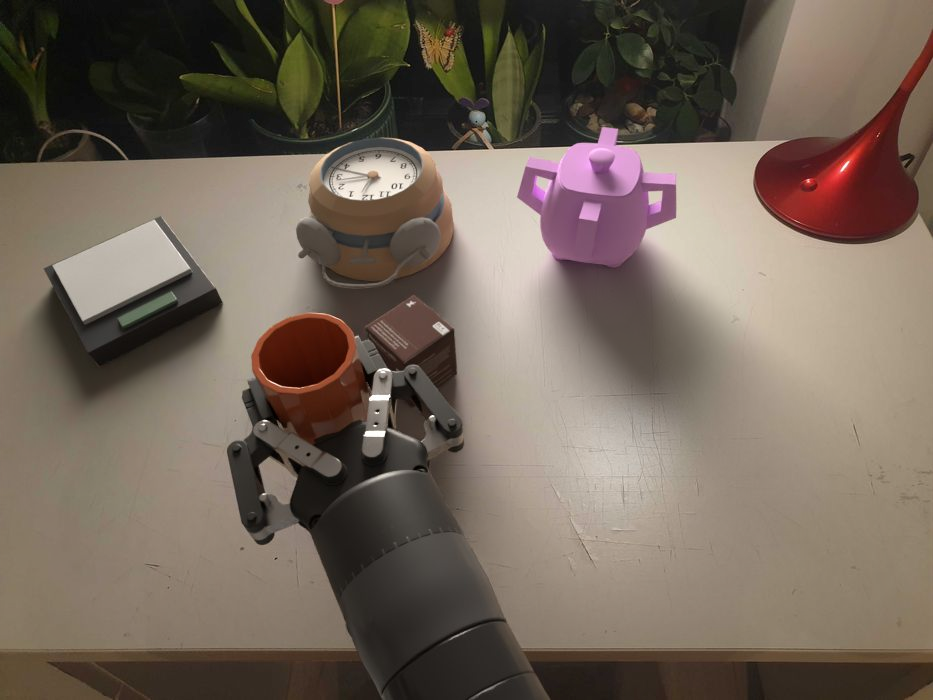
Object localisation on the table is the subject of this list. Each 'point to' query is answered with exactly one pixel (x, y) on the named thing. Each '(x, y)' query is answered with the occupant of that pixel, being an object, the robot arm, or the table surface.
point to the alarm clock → (376, 212)
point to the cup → (311, 375)
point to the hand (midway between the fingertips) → (306, 365)
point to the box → (415, 341)
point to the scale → (131, 289)
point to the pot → (597, 201)
